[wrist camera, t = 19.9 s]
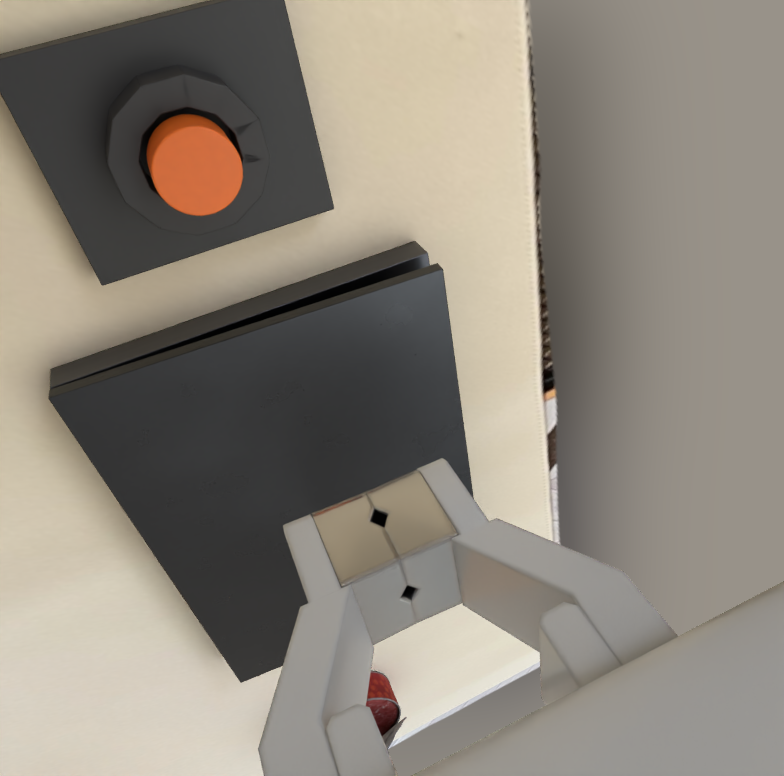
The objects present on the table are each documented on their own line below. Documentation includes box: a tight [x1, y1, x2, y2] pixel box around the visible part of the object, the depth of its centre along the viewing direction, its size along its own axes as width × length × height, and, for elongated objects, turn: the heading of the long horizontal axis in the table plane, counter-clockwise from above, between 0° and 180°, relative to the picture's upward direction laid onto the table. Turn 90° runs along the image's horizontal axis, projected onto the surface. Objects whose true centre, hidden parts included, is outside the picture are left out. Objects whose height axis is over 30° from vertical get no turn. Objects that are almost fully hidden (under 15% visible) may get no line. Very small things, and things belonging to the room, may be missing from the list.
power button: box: [146, 114, 243, 216], centre depth 27 cm, size 4×4×2 cm
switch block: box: [0, 0, 334, 286], centre depth 29 cm, size 12×10×4 cm
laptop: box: [50, 241, 430, 389], centre depth 45 cm, size 21×30×2 cm
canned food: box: [366, 671, 407, 750], centre depth 61 cm, size 11×10×10 cm
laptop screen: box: [49, 263, 474, 683], centre depth 43 cm, size 21×30×1 cm
